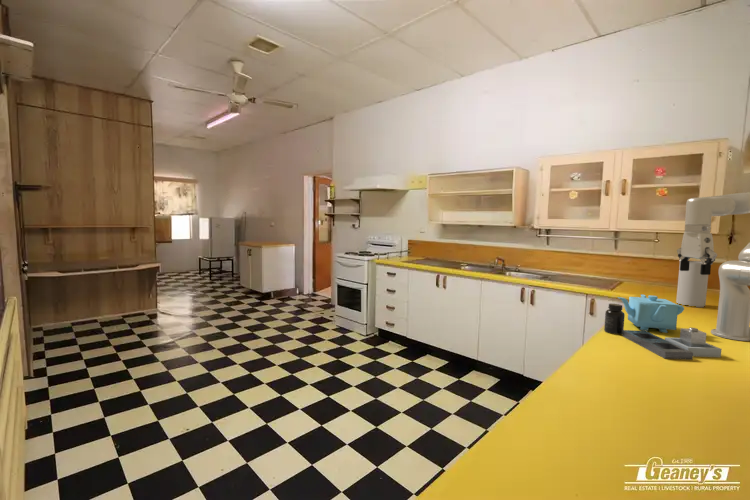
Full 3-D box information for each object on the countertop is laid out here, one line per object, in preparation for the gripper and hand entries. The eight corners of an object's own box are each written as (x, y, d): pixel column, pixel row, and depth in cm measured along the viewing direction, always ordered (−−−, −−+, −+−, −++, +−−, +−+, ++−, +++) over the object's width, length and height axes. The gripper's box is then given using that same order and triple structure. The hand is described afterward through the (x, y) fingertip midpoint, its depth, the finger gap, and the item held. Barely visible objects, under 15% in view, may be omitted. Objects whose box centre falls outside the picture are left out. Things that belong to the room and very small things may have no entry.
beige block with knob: (693, 347, 132) (695, 326, 132) (704, 352, 127) (706, 330, 127) (679, 346, 133) (680, 326, 132) (689, 351, 128) (691, 330, 127)
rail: (622, 336, 146) (622, 330, 146) (644, 336, 145) (645, 330, 145) (664, 358, 122) (665, 351, 122) (692, 359, 122) (693, 352, 121)
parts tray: (695, 346, 135) (695, 338, 135) (720, 357, 124) (721, 349, 124) (664, 345, 136) (665, 337, 136) (687, 355, 125) (688, 347, 125)
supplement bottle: (626, 335, 147) (628, 307, 146) (608, 334, 148) (610, 306, 147) (618, 330, 154) (620, 303, 153) (601, 329, 155) (603, 302, 154)
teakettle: (685, 331, 153) (688, 298, 152) (662, 337, 145) (665, 302, 144) (637, 320, 170) (639, 290, 169) (614, 325, 162) (616, 293, 160)
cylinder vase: (671, 303, 206) (675, 261, 204) (682, 301, 211) (686, 260, 209) (699, 308, 195) (703, 263, 193) (709, 306, 200) (713, 262, 198)
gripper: (728, 230, 130) (724, 276, 131) (689, 228, 147) (686, 269, 148) (706, 230, 130) (703, 276, 132) (670, 228, 147) (667, 269, 149)
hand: (694, 272), depth 140 cm, fingers open, 9 cm apart
